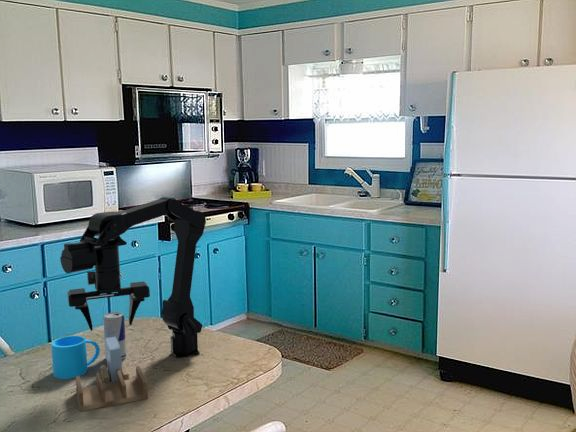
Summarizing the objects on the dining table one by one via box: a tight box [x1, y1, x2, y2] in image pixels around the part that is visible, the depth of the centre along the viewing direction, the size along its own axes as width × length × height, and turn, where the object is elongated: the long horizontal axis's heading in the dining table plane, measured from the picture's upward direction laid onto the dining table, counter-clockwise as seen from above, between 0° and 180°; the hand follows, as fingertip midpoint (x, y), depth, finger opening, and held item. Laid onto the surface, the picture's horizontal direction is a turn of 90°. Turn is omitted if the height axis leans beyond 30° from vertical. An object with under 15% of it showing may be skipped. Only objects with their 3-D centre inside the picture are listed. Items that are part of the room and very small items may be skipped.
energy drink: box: [102, 311, 127, 361], centre depth 159 cm, size 5×5×12 cm
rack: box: [75, 365, 149, 412], centre depth 137 cm, size 15×10×4 cm
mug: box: [50, 335, 101, 380], centre depth 151 cm, size 12×8×8 cm
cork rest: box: [100, 361, 130, 384], centre depth 147 cm, size 6×8×2 cm
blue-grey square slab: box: [105, 337, 123, 383], centre depth 146 cm, size 2×9×9 cm, turn 24°
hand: (111, 327), depth 145 cm, fingers open, 9 cm apart
